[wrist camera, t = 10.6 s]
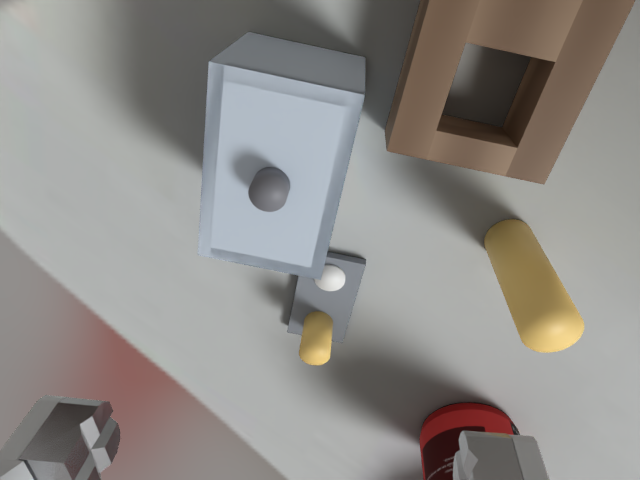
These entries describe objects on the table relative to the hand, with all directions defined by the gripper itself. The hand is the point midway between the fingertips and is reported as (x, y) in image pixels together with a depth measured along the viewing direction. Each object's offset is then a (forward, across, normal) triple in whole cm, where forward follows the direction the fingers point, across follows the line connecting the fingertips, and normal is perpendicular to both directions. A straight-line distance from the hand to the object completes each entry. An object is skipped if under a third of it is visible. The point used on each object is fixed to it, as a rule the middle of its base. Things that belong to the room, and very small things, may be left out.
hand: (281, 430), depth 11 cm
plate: (+18, +1, +11) cm, 21 cm away
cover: (+18, +2, -1) cm, 18 cm away
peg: (+18, -10, +6) cm, 22 cm away
